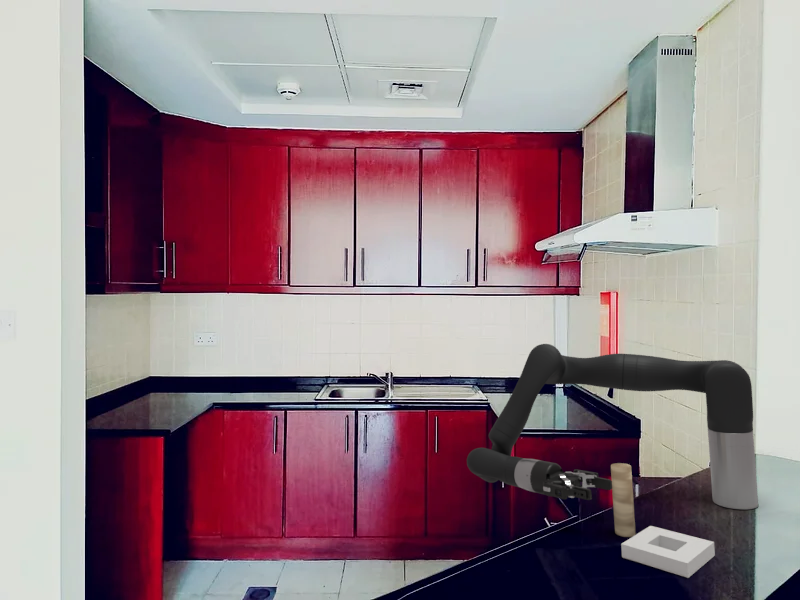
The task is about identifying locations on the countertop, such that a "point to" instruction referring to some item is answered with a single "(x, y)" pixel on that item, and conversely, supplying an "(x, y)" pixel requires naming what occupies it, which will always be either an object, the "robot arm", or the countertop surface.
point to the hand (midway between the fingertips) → (601, 489)
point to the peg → (623, 499)
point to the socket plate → (668, 550)
